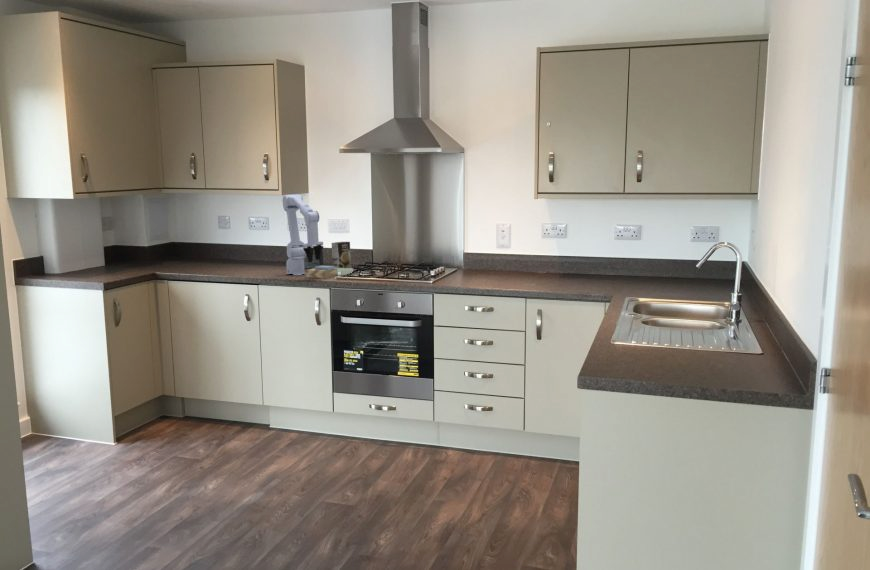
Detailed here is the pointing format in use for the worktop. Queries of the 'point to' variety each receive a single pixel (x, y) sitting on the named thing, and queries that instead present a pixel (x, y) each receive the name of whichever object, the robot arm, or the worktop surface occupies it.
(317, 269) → the blue rectangular block
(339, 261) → the coffee box
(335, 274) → the tan flat block
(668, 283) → the worktop surface
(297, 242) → the robot arm
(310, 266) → the small box
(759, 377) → the worktop surface
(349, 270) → the tray
